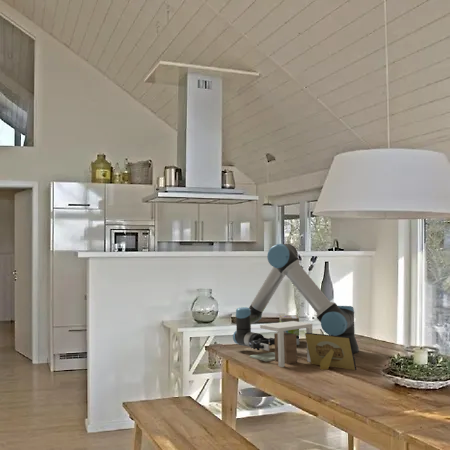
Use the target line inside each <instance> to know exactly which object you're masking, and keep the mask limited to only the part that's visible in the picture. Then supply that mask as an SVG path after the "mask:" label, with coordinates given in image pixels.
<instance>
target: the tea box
mask: <svg viewBox="0 0 450 450" xmlns="http://www.w3.org/2000/svg"><path fill="white" fill-rule="evenodd" d="M289 321H297V322H300V318H299V317H298V315H296V314H292V315H291V314H283V315H282V314H281V315H279V321H278V322H279V323H281V322H289ZM284 332H286V333H291V334H296V342H297V346H299V345H300V329H294V330H287V331H284Z"/></svg>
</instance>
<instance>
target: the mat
mask: <svg viewBox="0 0 450 450" xmlns="http://www.w3.org/2000/svg"><path fill="white" fill-rule="evenodd" d="M249 358H252V359H254V360H258V361H259V360H260V361H262V362H271V361H275V351H274V352H273V351H270V352H269V351H268V352H263V353H257V354H250V355H249Z"/></svg>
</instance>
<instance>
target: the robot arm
mask: <svg viewBox="0 0 450 450" xmlns="http://www.w3.org/2000/svg"><path fill="white" fill-rule="evenodd" d="M298 255H299V253H298V250H297V247H295V246H294V245H293V244H291V243H277V244H274V245H273V246H271V247H270V248H269V250H268V251H267V261H268V264H269V265H270V266H271V267H272V269H271V270H270V272H269V274H268V275H267V276H266V278H265V280H264V281H263V283H262V286H261V287H260V288H259V290H258V292H257V294H256V295H255V297H254V299H253V300H252V302H251V304H250V305H249V306H248V307H247V306H245V307H243V306H241V307H237V308H235V309H236V310H235V322H236V323H235V324H236V329H235V331H234V332H233V335H232V340H233V341H234V343H235V344H237V345H239V346H243V347H248V348H250V349H253V350H257V351H260V350H262V351H268V352H269V351H270V346H275V338H274V337H269V338H268V337H265V336H263V334H261V333H258V332H253V331H251V330H252V324H254V323H257V322H259V321H260V320H261V319H262V316H263V312H264V311H265V309H266V308H267V305H268V304H269V303H270V300H272V298H273V296H274V294H275V292H276V291H277V290H278V288H279V286H280V284H281V283H282V281H283V279H284V278H285V276H286V277H287V278H288V279H289V281H290V282H291V283H292V284H293V286H295V288H296V289H297V291H298V292H299V293H300V294H301V296H303V298H304V299H305V301H307V303H308V304H309V305H310V306H311V308H312V309H313V310H314V311H315V312H316V319H317V320H318V322H319V323H320V326H321V329H322V330H323V331H324V333H325V334H326V335H334V336H343V337H350V339H351V344H352V349H353V354H357V353H359V350H360V349H359V343H358V342H357V341H358V340H357V338H356V334H355V309H354V307H353V306H352V305H337V303H336V302H332V301H330V300H329V298H328V297H327V296H326V295H325V293H323V291H322V290H321V289H320V287H319V286H318V285H317V284H316V283H315V281H314V280H313V279H312V278H311V276H310V275H309V274H308V273H307V272H306V271H305V269H304V268H303V267H302V265H301V264H300V262H301V261H300V258H299V257H298Z"/></svg>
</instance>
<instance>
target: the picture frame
mask: <svg viewBox="0 0 450 450" xmlns="http://www.w3.org/2000/svg"><path fill="white" fill-rule="evenodd" d="M304 335H305V341H306V347H307V346H308V350H309V355H310V360H311V362H310V364H311V365H318V366H320V367H319V369H320V370H321V371H322V370H323V371H324V370H329V369H330V368H329V367H331V368H332V367H333V368H336V369H337V368H339V369H346V370H351V371H352V370H353V371H356V370H357V365H356V360H355V353H353V349H352V344H351V339H350V337H343V336H334V335H329V334H323V333H313V332H312V333H306V332H305V333H304Z"/></svg>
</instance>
